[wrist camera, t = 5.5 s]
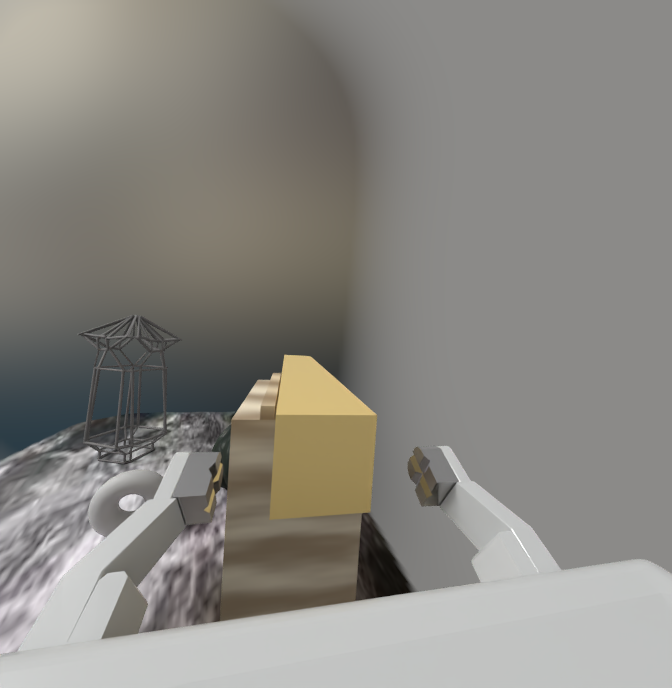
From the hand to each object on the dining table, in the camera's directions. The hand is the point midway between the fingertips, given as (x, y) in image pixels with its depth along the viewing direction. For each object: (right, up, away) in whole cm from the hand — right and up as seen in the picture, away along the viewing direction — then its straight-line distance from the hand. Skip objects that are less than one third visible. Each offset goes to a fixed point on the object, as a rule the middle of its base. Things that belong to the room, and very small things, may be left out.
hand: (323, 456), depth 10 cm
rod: (-2, -1, +11) cm, 11 cm away
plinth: (-5, -27, +16) cm, 32 cm away
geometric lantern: (-52, -23, +52) cm, 77 cm away
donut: (-31, -25, +28) cm, 49 cm away
